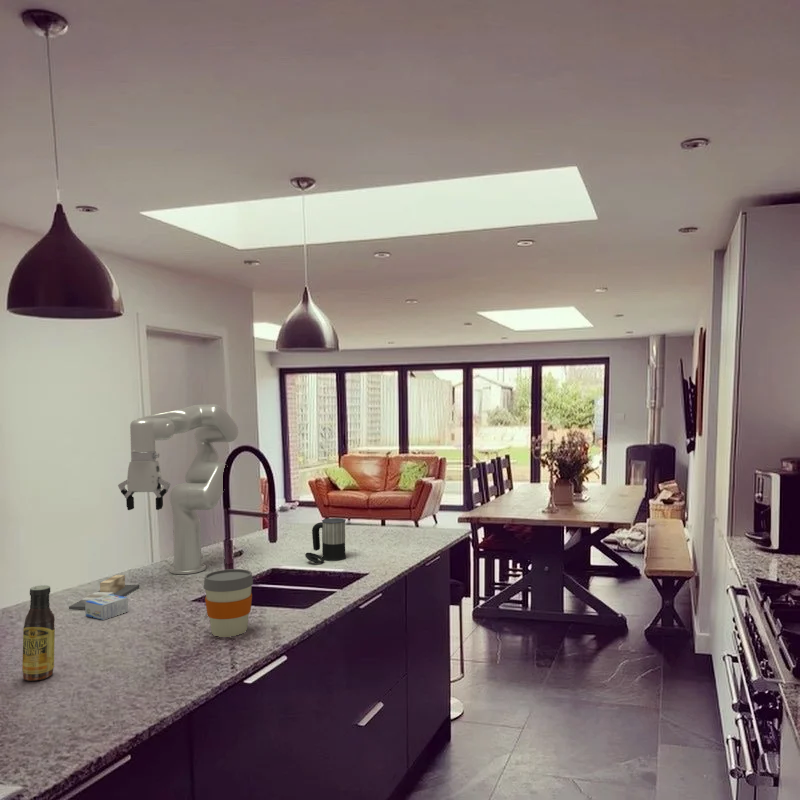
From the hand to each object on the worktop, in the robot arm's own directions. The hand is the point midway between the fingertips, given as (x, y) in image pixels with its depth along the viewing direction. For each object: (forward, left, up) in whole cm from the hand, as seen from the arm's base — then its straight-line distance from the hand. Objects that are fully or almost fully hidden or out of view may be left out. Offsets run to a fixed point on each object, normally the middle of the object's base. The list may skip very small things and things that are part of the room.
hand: (144, 509), depth 221 cm
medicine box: (+23, +3, -24) cm, 33 cm away
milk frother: (-39, +52, -26) cm, 70 cm away
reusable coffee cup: (+41, +42, -26) cm, 64 cm away
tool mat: (+11, -8, -26) cm, 29 cm away
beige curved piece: (+11, -8, -25) cm, 28 cm away
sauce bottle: (+71, +9, -26) cm, 76 cm away
